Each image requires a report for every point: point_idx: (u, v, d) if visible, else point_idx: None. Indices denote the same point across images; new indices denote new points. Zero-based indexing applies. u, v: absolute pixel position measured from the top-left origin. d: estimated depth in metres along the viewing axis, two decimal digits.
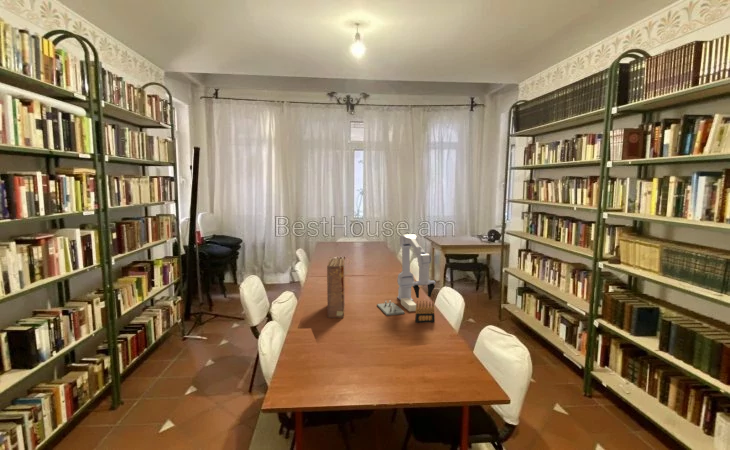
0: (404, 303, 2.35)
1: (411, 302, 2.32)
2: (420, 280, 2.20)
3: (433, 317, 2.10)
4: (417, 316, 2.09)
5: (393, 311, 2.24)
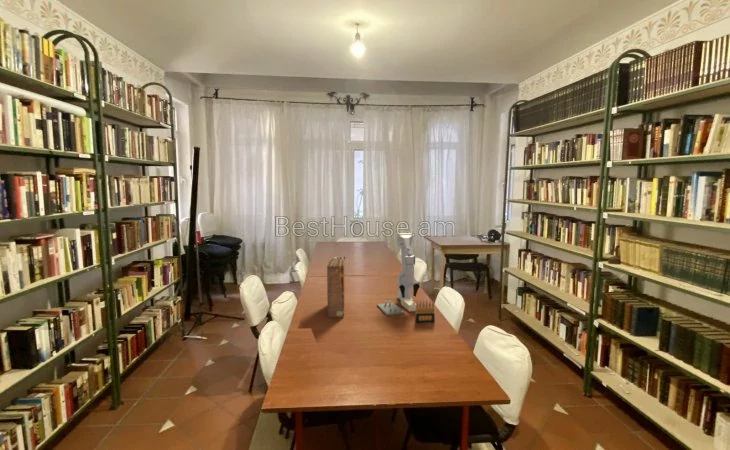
0: (404, 303, 2.35)
1: (411, 302, 2.33)
2: (406, 280, 2.31)
3: (433, 317, 2.10)
4: (417, 316, 2.09)
5: (393, 311, 2.24)
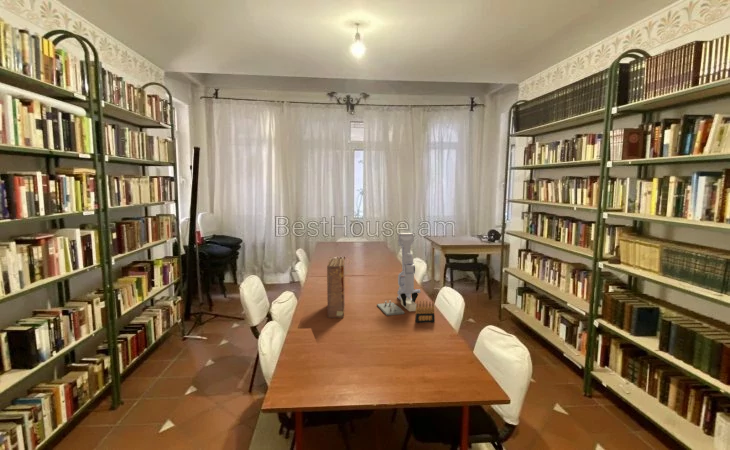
0: None
1: (411, 302, 2.32)
2: (405, 289, 2.32)
3: (433, 317, 2.10)
4: (417, 316, 2.09)
5: (393, 311, 2.24)
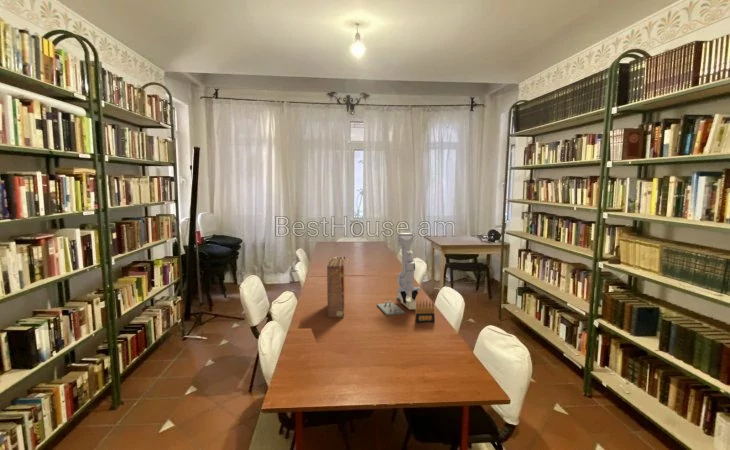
0: None
1: (411, 299, 2.32)
2: (405, 287, 2.31)
3: (433, 317, 2.10)
4: (417, 316, 2.09)
5: (393, 311, 2.24)
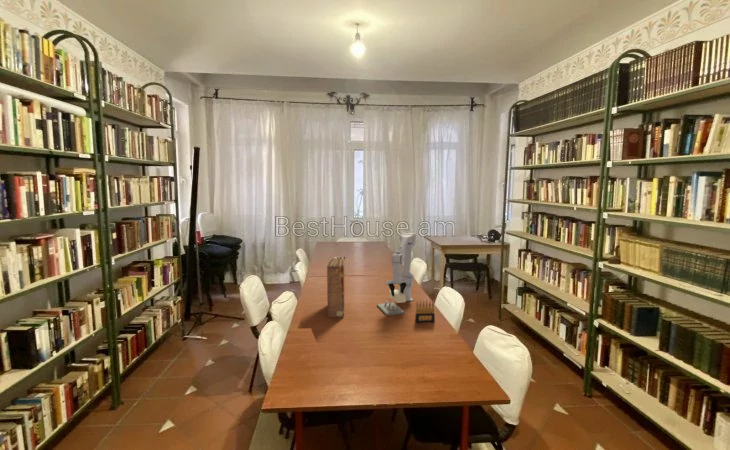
0: None
1: (399, 293, 2.29)
2: (394, 279, 2.28)
3: (433, 317, 2.10)
4: (417, 316, 2.09)
5: (393, 311, 2.24)
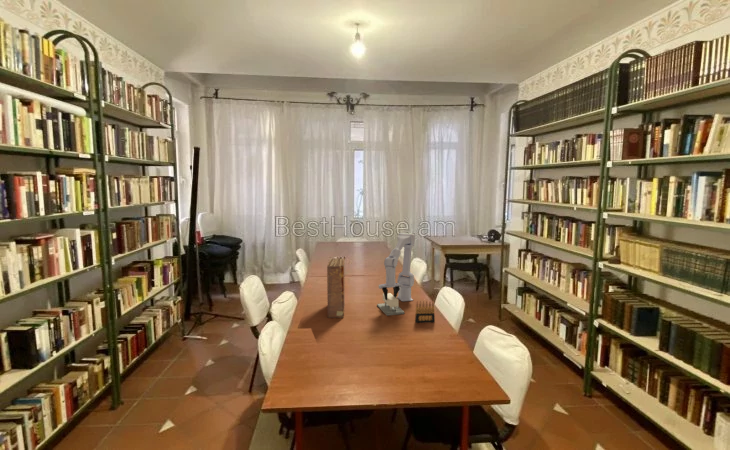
0: None
1: (393, 297, 2.27)
2: (387, 283, 2.26)
3: (433, 317, 2.10)
4: (417, 316, 2.09)
5: (393, 311, 2.24)
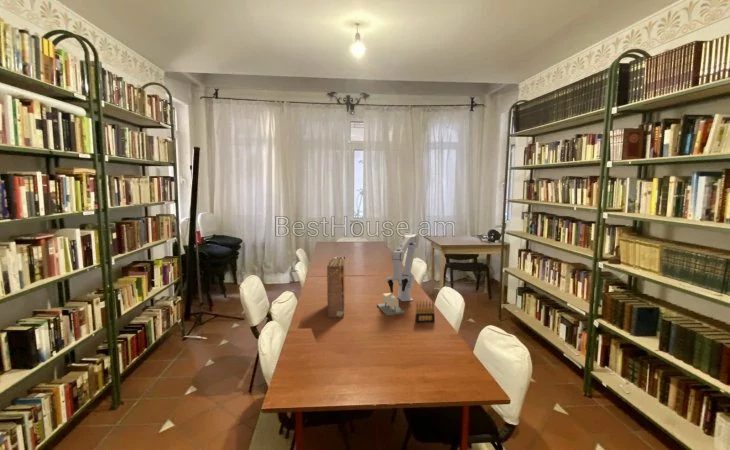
0: (386, 298, 2.30)
1: (393, 297, 2.27)
2: (394, 275, 2.33)
3: (433, 317, 2.10)
4: (417, 316, 2.09)
5: (393, 311, 2.24)
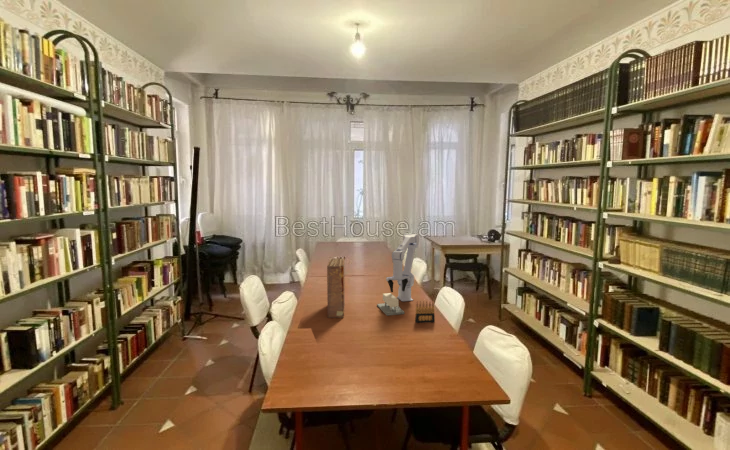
0: (386, 298, 2.30)
1: (393, 297, 2.27)
2: (394, 275, 2.33)
3: (433, 317, 2.10)
4: (417, 316, 2.09)
5: (393, 311, 2.24)
